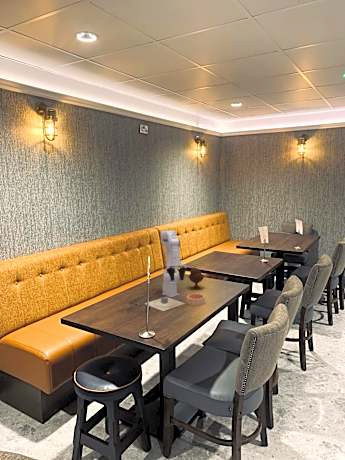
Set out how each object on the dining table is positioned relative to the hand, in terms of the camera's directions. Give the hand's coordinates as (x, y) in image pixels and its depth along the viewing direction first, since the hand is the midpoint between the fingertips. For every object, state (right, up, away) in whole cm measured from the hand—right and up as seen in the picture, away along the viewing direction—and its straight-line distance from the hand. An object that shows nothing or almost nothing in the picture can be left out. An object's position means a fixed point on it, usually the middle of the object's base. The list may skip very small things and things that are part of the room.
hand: (177, 280), depth 219 cm
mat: (-8, -16, +9) cm, 20 cm away
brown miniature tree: (+14, -11, +39) cm, 43 cm away
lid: (-8, -16, +9) cm, 20 cm away
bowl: (+12, -16, +9) cm, 22 cm away
